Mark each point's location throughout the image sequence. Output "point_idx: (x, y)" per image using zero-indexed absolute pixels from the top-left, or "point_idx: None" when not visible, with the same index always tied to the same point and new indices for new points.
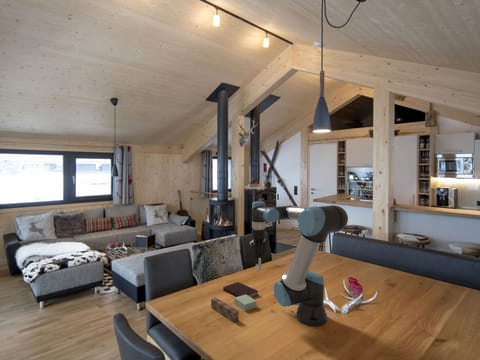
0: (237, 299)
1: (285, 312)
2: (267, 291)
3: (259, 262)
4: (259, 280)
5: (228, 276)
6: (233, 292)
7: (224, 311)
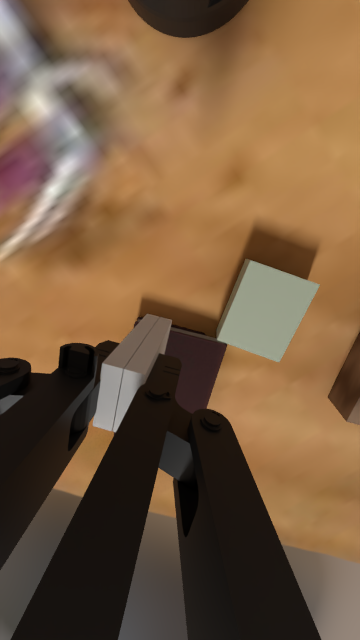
0: (287, 341)
1: (212, 109)
2: (84, 304)
3: (149, 348)
4: None
5: (79, 492)
6: (208, 400)
7: None
